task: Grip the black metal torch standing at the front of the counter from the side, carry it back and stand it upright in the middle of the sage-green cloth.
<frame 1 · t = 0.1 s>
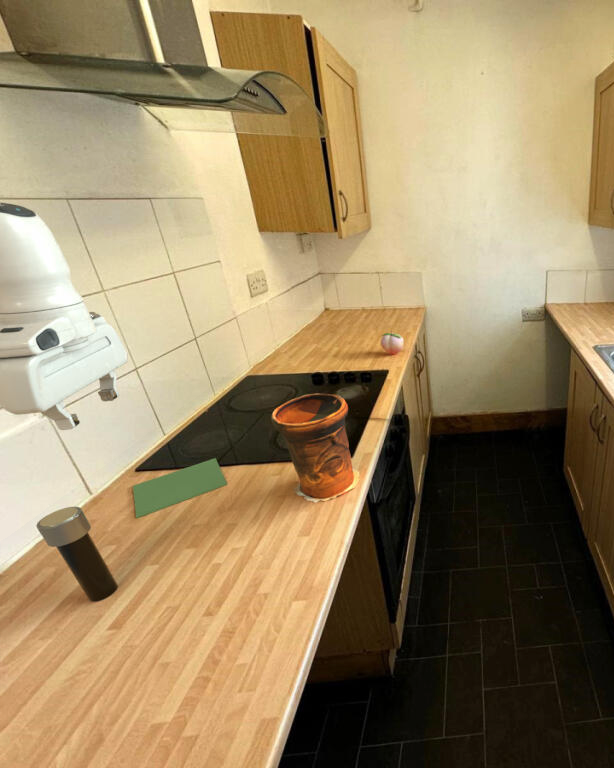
hand: (92, 412, 64), 29 cm above the table, tool pointing down, fingers open, 8 cm apart
torch: (103, 592, 69), on the table
cloth: (180, 485, 94), on the table
decorative fruit: (394, 354, 172), on the table
vessel: (328, 485, 94), on the table
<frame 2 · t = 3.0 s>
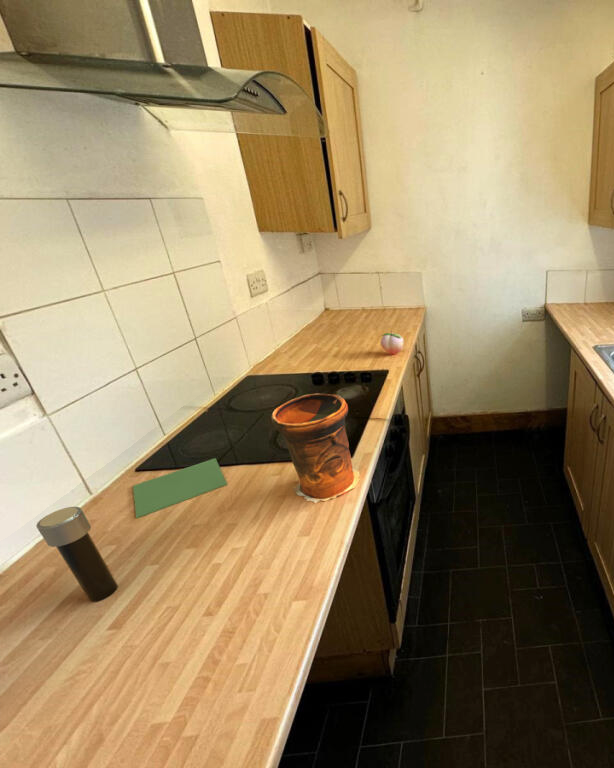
nothing on the table moved.
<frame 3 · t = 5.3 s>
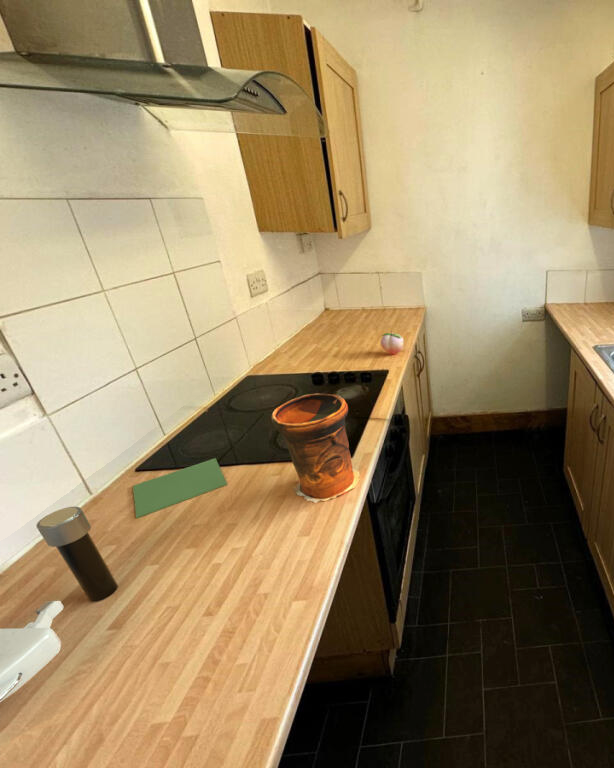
hand: (22, 604, 57), 8 cm above the table, tool horizontal, fingers open, 8 cm apart
nothing on the table moved.
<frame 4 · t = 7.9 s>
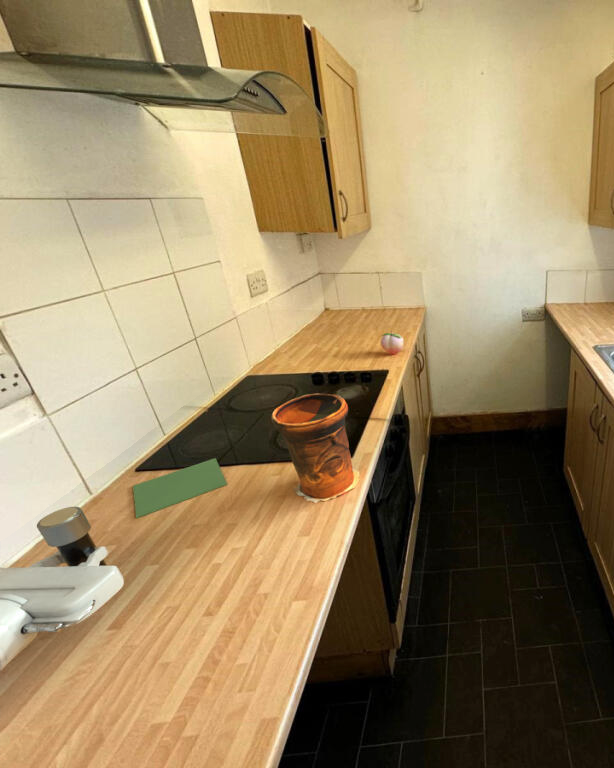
hand: (86, 549, 66), 9 cm above the table, tool horizontal, fingers closed on torch, 3 cm apart
torch: (103, 592, 69), on the table, touching gripper
everything else where it was.
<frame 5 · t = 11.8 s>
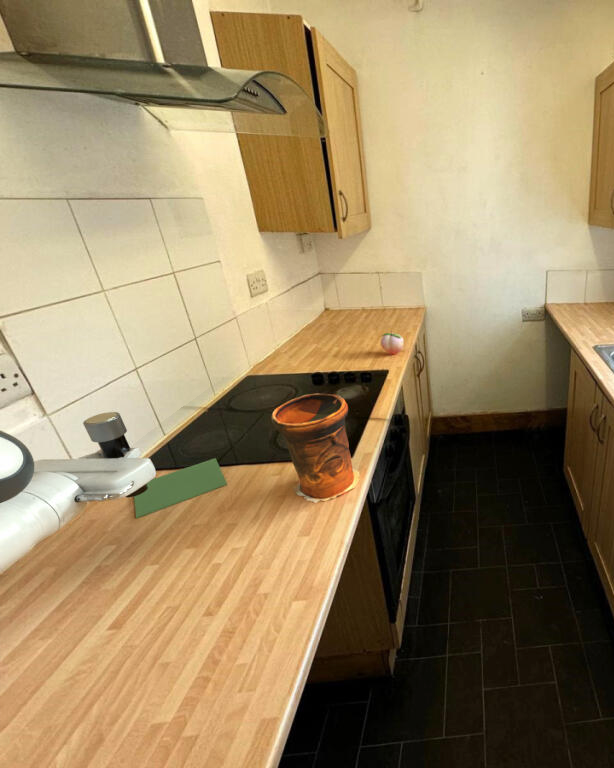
hand: (122, 451, 77), 17 cm above the table, tool horizontal, fingers closed on torch, 3 cm apart
torch: (136, 491, 80), point 8 cm above the table, touching gripper
everything else where it was.
when the fingers open (9 cm above the table, at t = 16.0 s): torch stays where it is, resting on cloth.
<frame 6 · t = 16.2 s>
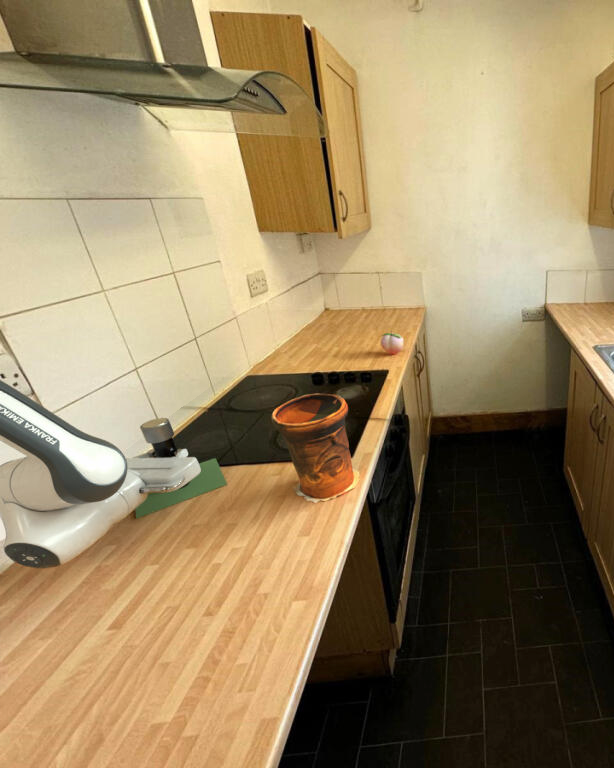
hand: (170, 451, 92), 9 cm above the table, tool horizontal, fingers open, 5 cm apart
torch: (180, 484, 94), resting on cloth
everything else where it was.
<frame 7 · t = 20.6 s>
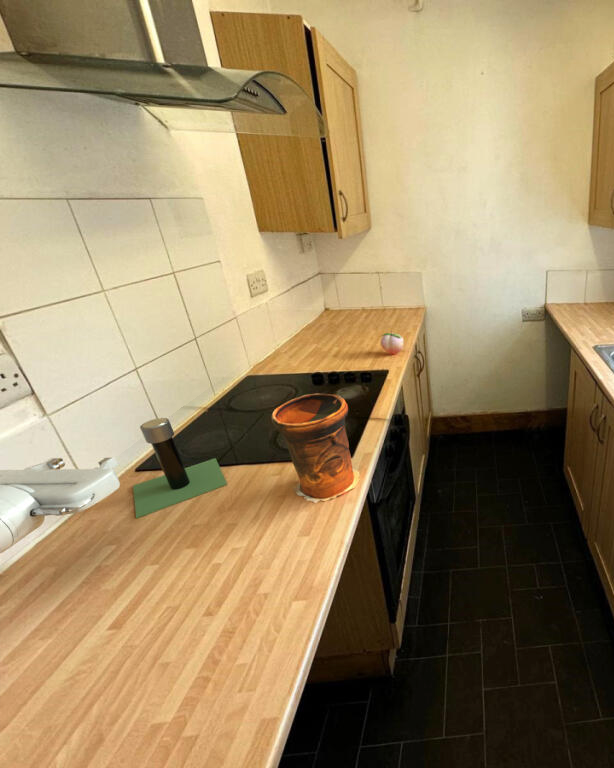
hand: (86, 460, 74), 17 cm above the table, tool horizontal, fingers open, 8 cm apart
nothing on the table moved.
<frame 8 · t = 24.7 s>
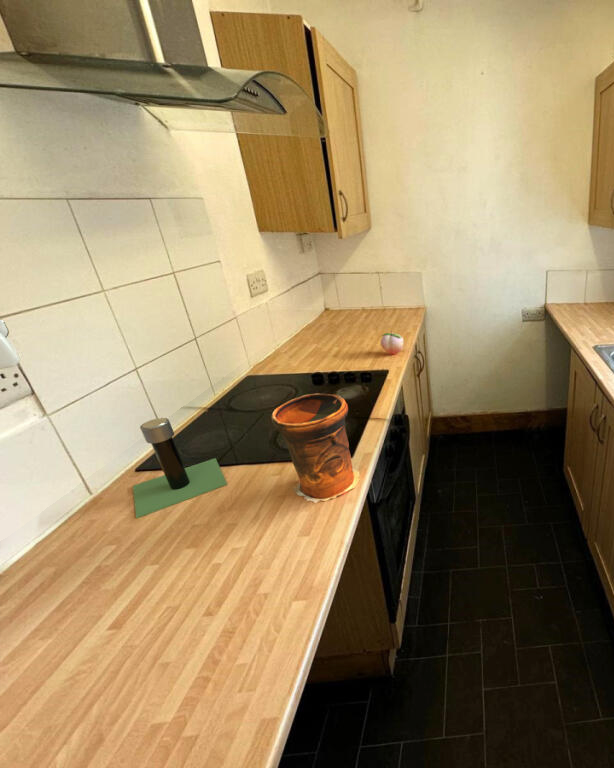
nothing on the table moved.
at the end: torch inside the target area on the cloth (0.1 cm from its centre), point 0.3 cm above the cloth's base; torch tilted 0°; the gripper is holding nothing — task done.
